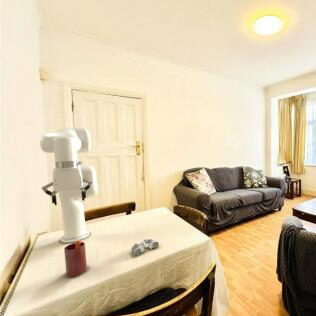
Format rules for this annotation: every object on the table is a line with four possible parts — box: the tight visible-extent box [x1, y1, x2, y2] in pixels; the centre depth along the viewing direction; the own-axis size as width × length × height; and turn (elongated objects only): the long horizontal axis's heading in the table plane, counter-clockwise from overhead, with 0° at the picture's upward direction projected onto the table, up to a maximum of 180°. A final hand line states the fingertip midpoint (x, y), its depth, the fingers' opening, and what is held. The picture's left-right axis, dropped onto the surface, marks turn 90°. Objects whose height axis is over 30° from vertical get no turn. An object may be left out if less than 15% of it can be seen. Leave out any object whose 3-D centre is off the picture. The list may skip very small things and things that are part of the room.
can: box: [63, 241, 88, 278], centre depth 84 cm, size 7×7×12 cm
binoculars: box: [130, 237, 160, 256], centre depth 103 cm, size 12×8×4 cm, turn 139°
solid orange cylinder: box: [74, 239, 82, 249], centre depth 85 cm, size 2×2×12 cm
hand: (69, 202), depth 91 cm, fingers open, 9 cm apart
